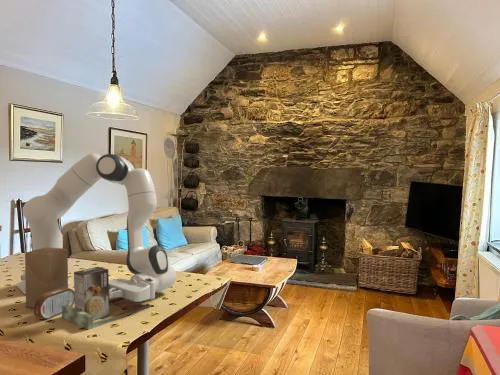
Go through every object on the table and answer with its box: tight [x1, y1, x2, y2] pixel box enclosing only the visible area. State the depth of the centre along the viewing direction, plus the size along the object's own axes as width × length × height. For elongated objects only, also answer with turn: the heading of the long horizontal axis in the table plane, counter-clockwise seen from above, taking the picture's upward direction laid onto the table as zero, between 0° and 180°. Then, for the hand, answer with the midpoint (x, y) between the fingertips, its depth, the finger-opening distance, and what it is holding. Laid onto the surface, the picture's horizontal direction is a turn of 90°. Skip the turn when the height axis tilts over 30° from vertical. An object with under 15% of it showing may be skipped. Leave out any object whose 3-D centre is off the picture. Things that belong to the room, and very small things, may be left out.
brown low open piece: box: [61, 297, 151, 330], centre depth 131 cm, size 16×24×4 cm, turn 144°
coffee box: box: [73, 266, 110, 321], centre depth 126 cm, size 9×6×16 cm
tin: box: [33, 287, 75, 320], centre depth 129 cm, size 15×3×8 cm, turn 159°
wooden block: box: [24, 247, 69, 309], centre depth 138 cm, size 10×10×20 cm
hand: (107, 295), depth 131 cm, fingers closed
